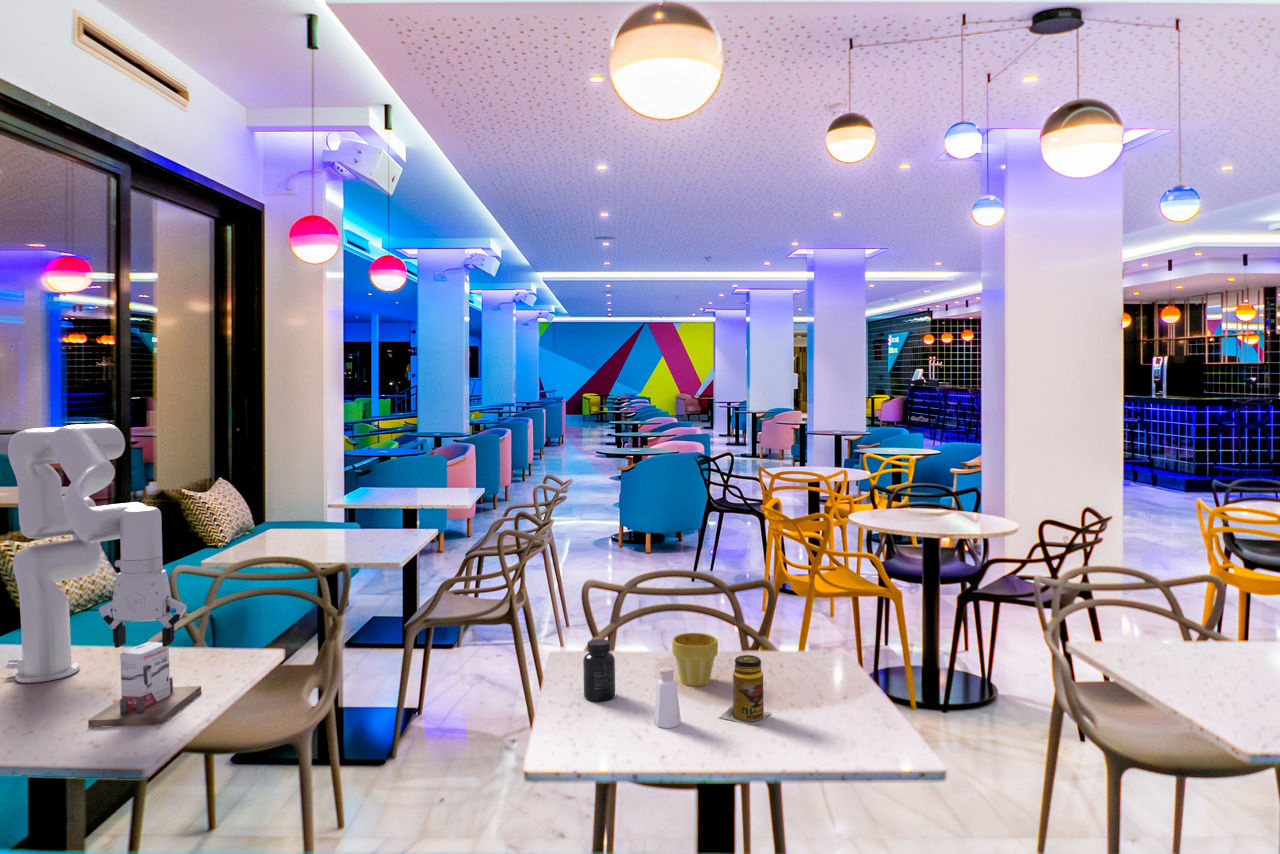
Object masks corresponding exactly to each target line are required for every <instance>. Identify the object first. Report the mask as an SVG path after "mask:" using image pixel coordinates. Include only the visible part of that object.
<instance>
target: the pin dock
mask: <svg viewBox="0 0 1280 854" xmlns="http://www.w3.org/2000/svg"><path fill="white" fill-rule="evenodd" d="M173 679H174V678H173V677H171V676H170V696H168V697H166V698H164V699H162V700H160V701H158V702H156V703H154V704H152V705H150V706H147V707H145V708H144V697H139V698H137V699H136V709H128V698H122V697H120V698H119V699H118V700H117V701H115V702H113V703H112V704H111V705H109V706H107V707H106V708H105V709H103V710H101V711H100V712H99V713H97V714H95V715H94V716H93V717H91V718H89V719H88V721H87V723H88V728H89V727H93V728H103V727H102V726H116V727H134V726H138V725H139V726H156V724H161V725H163V724H164V723H165V722H166V721H168V718H169V717H170V718H172V716H174V715H175V714H176V713H178V712H179V711H180V710H181V709H182V708H183V706H184V705H185V706H187V705H188V704H189V703H190V702H191V701H193V698H194V697H195V696H196V697H197V696H198V694H199V693H200V694H202V686H201V685H190V686H189V685H188V686H174V683H173V682H174V681H173ZM200 694H199V695H200ZM196 697H195V698H196ZM195 698H194V699H195ZM190 700H191V701H190ZM189 701H190V702H189ZM188 702H189V703H188ZM185 706H184V707H185ZM181 707H182V708H181ZM180 708H181V709H180ZM179 709H180V710H179ZM178 710H179V711H178ZM174 713H175V714H174ZM173 714H174V715H173ZM170 718H169V719H170ZM163 722H164V723H163Z"/></svg>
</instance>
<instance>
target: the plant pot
mask: <svg viewBox="0 0 1280 854" xmlns="http://www.w3.org/2000/svg"><path fill="white" fill-rule="evenodd" d="M671 641H672V645H671V647H672V655H674V657H675V661H676V666H677V671H678V675H679V680H680V682H681V684H683V685H686V686H689V687H690V686H691V687H701V686H706V685H707V684H709V682H710V680H711V677H712V676H711V675H712V671H713V666H714V662H715V657H717V656H718V652H719V651H718V650H719V642H718V641H719V640H718V638H717V637H716V636H715V635H712V634H710V633H709V634H708V633H702V632H685V633H679V634H677V635H675V636H674V637H673V638H672V640H671Z"/></svg>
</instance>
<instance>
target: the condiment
mask: <svg viewBox="0 0 1280 854" xmlns="http://www.w3.org/2000/svg"><path fill="white" fill-rule="evenodd" d="M732 673H733V674H732V677H733V678H732V683H733V684H732V686H733V689H732V690H733V691H732V694H733V697H732V700H733V701H732V702H733V704H732V705H731V706H730V707H728V709H726V710H725V711H724V712H723V713H722V714H721V715H720V716H718V718H719V719H724V720H729V721H733V722H738V723H741V724H747V725H751V726H759V725H760V724H761V723H762V722H763V721H765V719H766V718H767V717H768V716H769V715H770V714H771V713H772V712H770V711H765V710H764V704H765V703H764V673H763V671H762V659H761V658H760V657H758V656H755V655H750V654H744V655H739V656H737V657H736V658H735V659H734V670H733V672H732Z"/></svg>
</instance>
